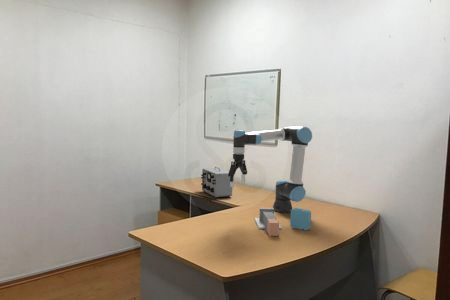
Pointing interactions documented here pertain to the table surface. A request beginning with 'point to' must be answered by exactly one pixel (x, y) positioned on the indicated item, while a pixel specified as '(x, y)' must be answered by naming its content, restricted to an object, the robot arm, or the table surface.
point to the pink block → (272, 227)
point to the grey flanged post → (265, 217)
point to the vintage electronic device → (216, 182)
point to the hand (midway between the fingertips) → (237, 185)
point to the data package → (300, 219)
